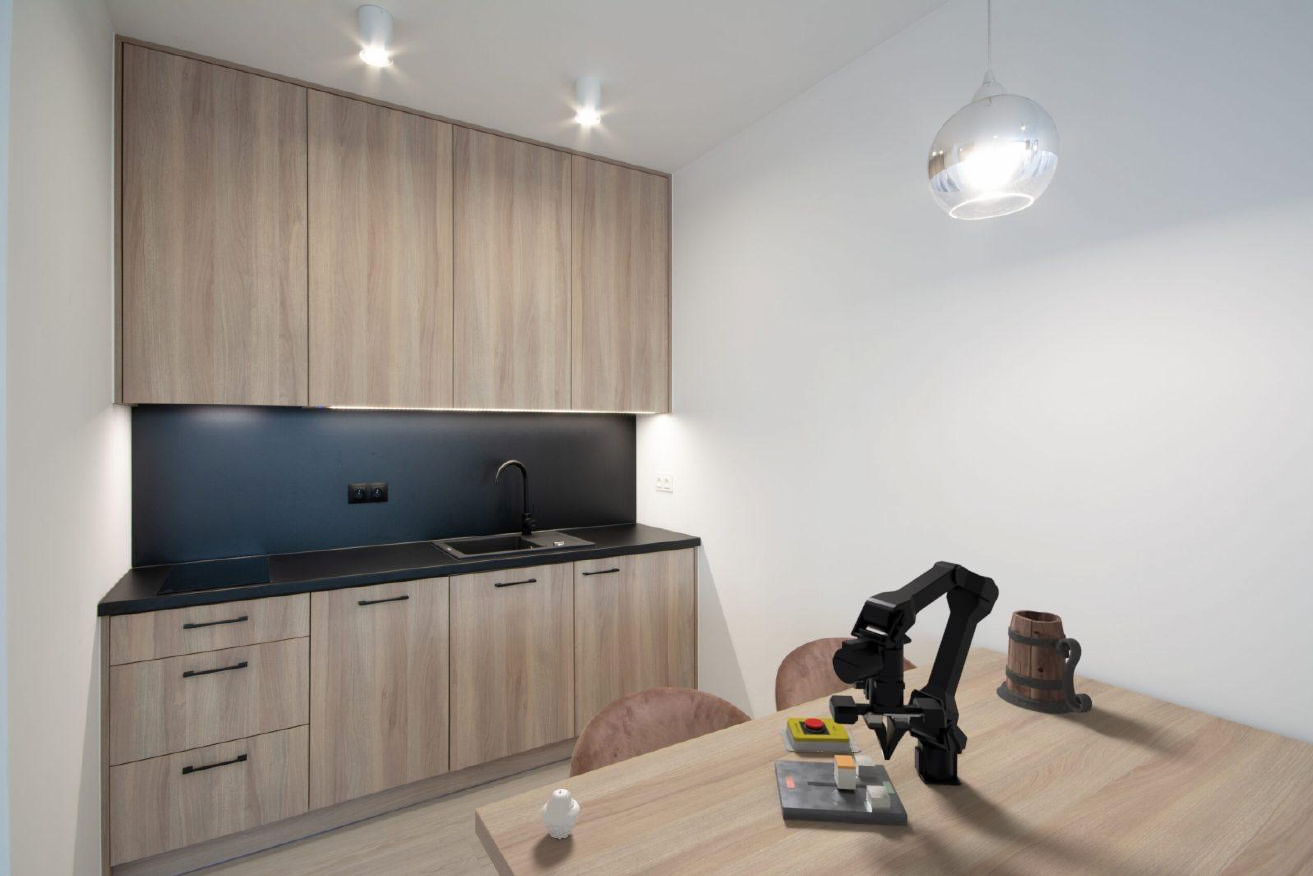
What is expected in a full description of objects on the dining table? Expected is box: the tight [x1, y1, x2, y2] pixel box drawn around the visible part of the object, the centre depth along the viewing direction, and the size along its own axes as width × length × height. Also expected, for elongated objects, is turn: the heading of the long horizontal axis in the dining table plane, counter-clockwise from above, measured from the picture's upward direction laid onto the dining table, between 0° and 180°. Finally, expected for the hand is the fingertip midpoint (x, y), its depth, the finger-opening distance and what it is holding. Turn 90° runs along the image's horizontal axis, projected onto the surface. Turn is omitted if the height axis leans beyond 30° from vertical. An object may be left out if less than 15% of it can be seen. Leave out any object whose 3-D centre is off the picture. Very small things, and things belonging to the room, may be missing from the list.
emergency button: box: [779, 717, 861, 753], centre depth 131 cm, size 9×4×15 cm
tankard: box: [995, 609, 1093, 715], centre depth 148 cm, size 24×17×20 cm
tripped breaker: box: [833, 754, 856, 789], centre depth 111 cm, size 3×4×4 cm
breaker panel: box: [774, 754, 908, 827], centre depth 112 cm, size 20×15×4 cm
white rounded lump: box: [540, 788, 581, 840], centre depth 102 cm, size 6×6×7 cm
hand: (886, 759), depth 111 cm, fingers closed
